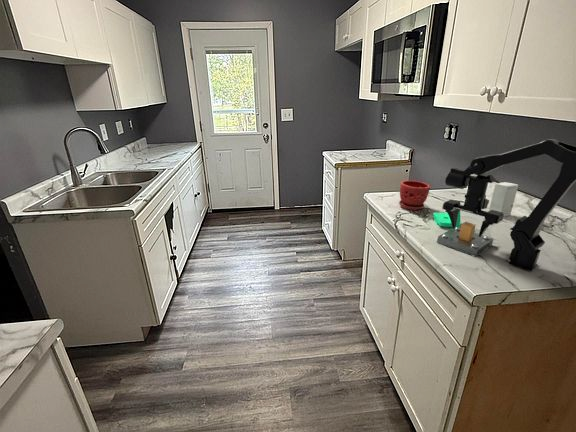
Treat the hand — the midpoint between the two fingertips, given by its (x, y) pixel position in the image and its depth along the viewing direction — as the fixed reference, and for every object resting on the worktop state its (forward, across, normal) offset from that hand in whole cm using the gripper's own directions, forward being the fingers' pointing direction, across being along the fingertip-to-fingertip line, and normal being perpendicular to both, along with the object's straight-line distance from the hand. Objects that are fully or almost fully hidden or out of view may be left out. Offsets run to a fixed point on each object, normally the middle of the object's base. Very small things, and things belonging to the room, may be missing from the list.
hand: (466, 232), depth 116 cm
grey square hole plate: (+5, 0, 0) cm, 5 cm away
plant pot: (+5, +34, -21) cm, 40 cm away
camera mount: (+5, +14, -14) cm, 20 cm away
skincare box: (+5, +3, -43) cm, 43 cm away
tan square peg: (+5, 0, 0) cm, 5 cm away
